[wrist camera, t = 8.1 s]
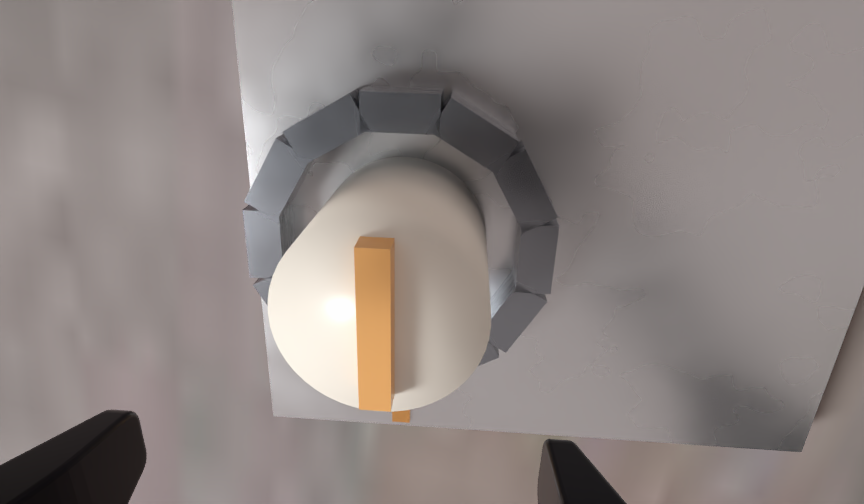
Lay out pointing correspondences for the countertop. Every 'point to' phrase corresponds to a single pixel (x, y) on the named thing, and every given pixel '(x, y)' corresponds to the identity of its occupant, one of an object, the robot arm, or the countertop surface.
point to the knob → (386, 289)
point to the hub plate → (590, 196)
